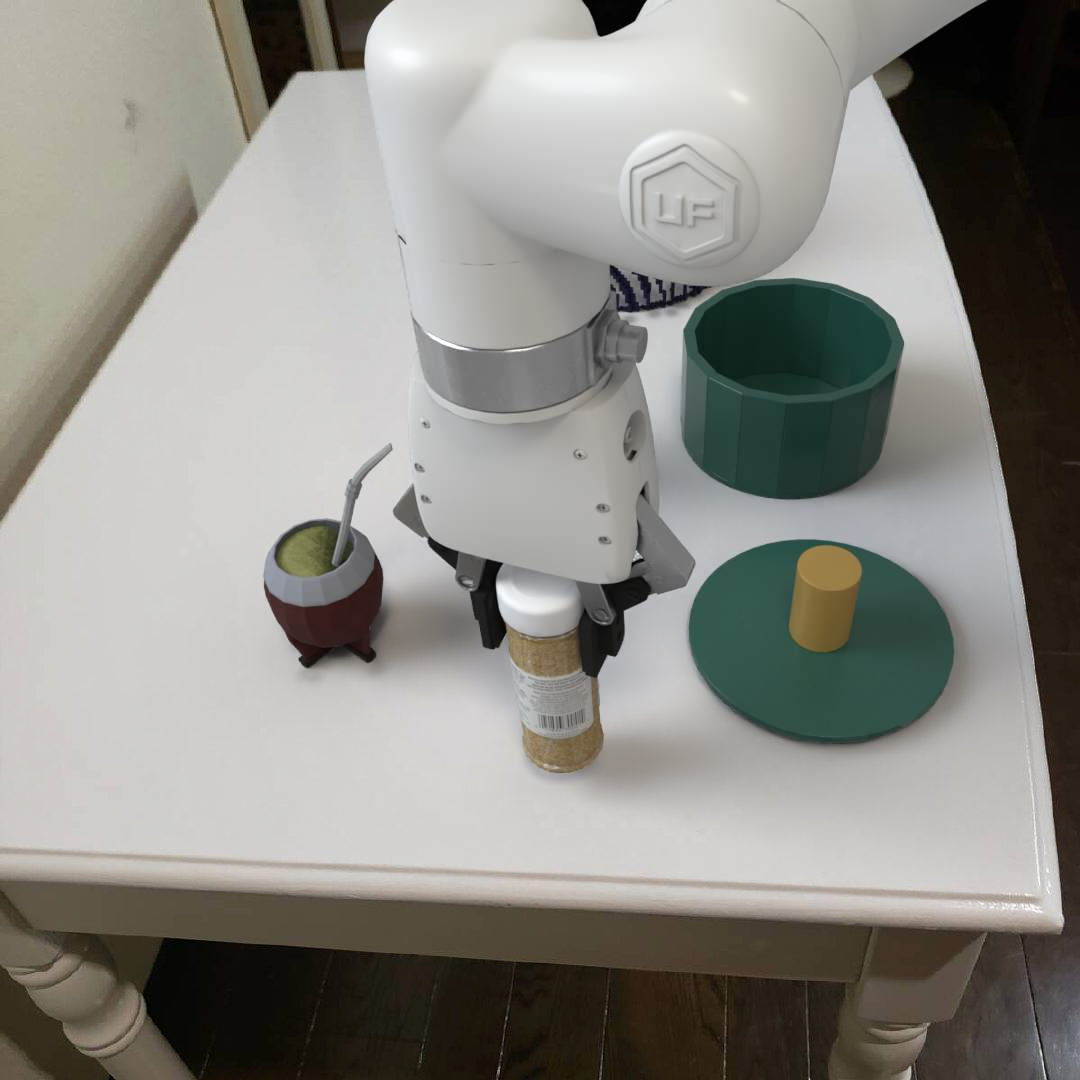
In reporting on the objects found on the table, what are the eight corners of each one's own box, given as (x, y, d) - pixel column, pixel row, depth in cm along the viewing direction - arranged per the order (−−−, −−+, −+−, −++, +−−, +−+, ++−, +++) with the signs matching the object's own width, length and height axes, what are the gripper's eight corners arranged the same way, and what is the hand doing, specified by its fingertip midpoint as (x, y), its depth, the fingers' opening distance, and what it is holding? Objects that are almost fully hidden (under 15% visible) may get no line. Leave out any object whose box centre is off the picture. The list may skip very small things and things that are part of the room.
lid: (967, 584, 71) (990, 507, 66) (927, 783, 61) (951, 709, 56) (727, 529, 76) (733, 454, 71) (654, 705, 66) (655, 630, 61)
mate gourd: (263, 642, 71) (196, 465, 61) (355, 572, 75) (308, 393, 65) (339, 702, 67) (282, 523, 57) (432, 624, 71) (395, 444, 61)
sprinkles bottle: (609, 713, 63) (598, 543, 53) (597, 782, 60) (583, 614, 50) (529, 705, 64) (505, 536, 54) (513, 772, 60) (484, 606, 51)
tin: (899, 392, 85) (919, 296, 79) (861, 518, 76) (880, 420, 70) (713, 358, 89) (718, 265, 83) (655, 473, 80) (656, 377, 74)
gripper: (756, 314, 42) (737, 628, 55) (369, 256, 48) (433, 553, 61) (699, 435, 38) (692, 748, 50) (276, 354, 43) (366, 655, 56)
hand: (550, 639), depth 55 cm, fingers closed on sprinkles bottle, 4 cm apart
